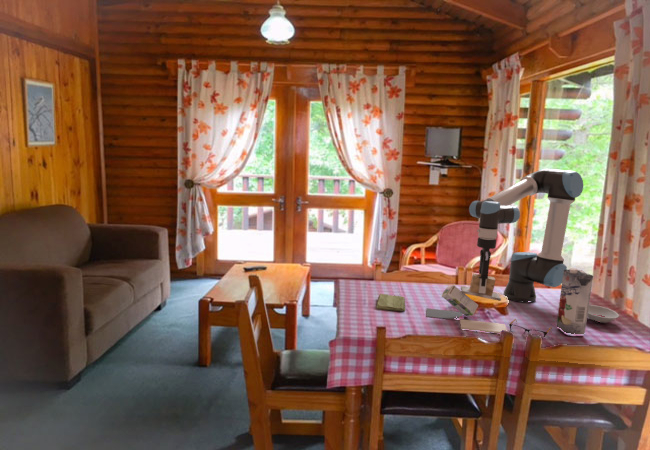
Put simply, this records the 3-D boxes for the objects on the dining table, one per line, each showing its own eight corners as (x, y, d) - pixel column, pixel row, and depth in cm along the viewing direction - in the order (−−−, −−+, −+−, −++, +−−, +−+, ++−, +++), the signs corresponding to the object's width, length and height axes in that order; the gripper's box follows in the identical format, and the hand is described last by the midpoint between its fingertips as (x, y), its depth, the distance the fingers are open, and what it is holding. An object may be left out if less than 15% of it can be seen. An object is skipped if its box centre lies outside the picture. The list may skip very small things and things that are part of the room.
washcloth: (375, 310, 227) (376, 303, 227) (378, 298, 244) (378, 292, 244) (405, 313, 225) (406, 306, 225) (405, 301, 242) (406, 295, 242)
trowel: (498, 295, 223) (502, 278, 221) (500, 301, 215) (504, 282, 214) (460, 287, 225) (464, 270, 224) (461, 293, 218) (465, 275, 216)
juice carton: (574, 328, 216) (582, 266, 211) (587, 338, 205) (596, 272, 201) (553, 327, 215) (561, 265, 211) (565, 337, 205) (574, 271, 200)
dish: (572, 314, 235) (574, 303, 234) (605, 316, 234) (606, 305, 233) (589, 328, 217) (591, 316, 216) (624, 330, 216) (626, 319, 216)
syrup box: (466, 317, 224) (440, 296, 223) (472, 306, 226) (446, 286, 225) (473, 315, 218) (446, 294, 218) (479, 304, 221) (453, 283, 220)
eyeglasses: (507, 333, 207) (508, 323, 207) (516, 323, 219) (517, 314, 219) (545, 342, 200) (546, 332, 199) (552, 331, 212) (553, 322, 211)
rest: (504, 326, 213) (504, 324, 213) (507, 335, 204) (508, 332, 204) (459, 321, 217) (460, 319, 217) (461, 330, 207) (461, 327, 207)
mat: (463, 312, 229) (463, 312, 229) (464, 321, 218) (464, 320, 218) (426, 308, 232) (426, 308, 232) (426, 316, 221) (426, 316, 221)
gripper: (476, 233, 225) (470, 285, 229) (479, 241, 208) (473, 296, 212) (494, 235, 224) (488, 286, 228) (499, 242, 207) (492, 298, 211)
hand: (481, 291), depth 220 cm, fingers closed on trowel, 4 cm apart
